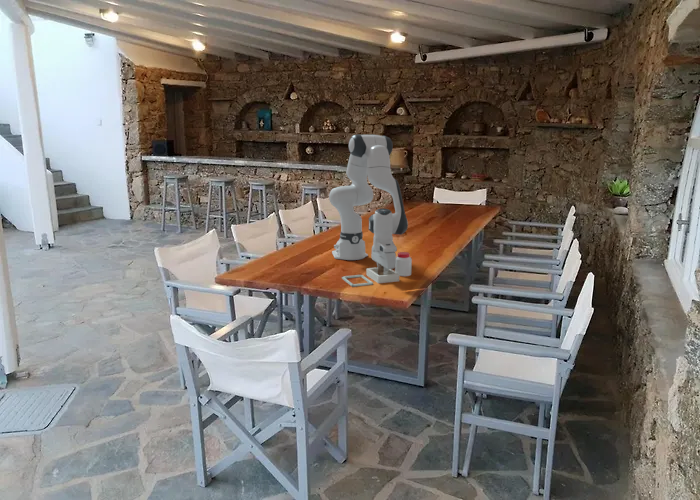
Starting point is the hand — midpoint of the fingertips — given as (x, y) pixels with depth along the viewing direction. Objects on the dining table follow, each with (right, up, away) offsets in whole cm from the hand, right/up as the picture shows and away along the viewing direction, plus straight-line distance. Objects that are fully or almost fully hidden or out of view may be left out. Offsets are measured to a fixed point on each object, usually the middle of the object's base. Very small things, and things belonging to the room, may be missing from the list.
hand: (382, 273), depth 248 cm
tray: (-12, -4, -5) cm, 13 cm away
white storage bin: (0, -3, +1) cm, 3 cm away
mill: (0, -2, 0) cm, 2 cm away
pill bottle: (+10, -2, +7) cm, 13 cm away
